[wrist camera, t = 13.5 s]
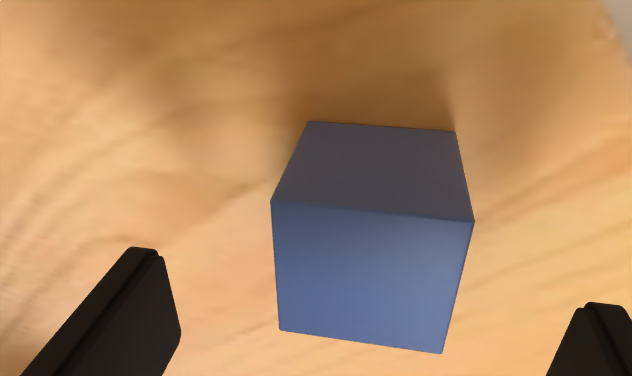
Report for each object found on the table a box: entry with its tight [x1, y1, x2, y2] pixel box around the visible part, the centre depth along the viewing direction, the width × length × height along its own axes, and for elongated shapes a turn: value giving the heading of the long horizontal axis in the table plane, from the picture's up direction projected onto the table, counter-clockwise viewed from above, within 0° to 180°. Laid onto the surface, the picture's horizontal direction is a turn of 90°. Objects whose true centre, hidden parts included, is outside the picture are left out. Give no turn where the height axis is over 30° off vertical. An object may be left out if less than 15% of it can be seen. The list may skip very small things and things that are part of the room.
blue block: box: [270, 121, 475, 354], centre depth 12 cm, size 4×4×4 cm
